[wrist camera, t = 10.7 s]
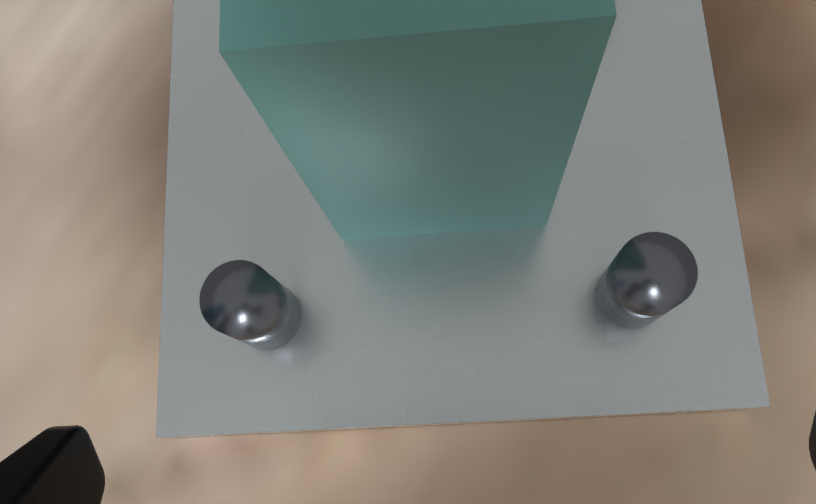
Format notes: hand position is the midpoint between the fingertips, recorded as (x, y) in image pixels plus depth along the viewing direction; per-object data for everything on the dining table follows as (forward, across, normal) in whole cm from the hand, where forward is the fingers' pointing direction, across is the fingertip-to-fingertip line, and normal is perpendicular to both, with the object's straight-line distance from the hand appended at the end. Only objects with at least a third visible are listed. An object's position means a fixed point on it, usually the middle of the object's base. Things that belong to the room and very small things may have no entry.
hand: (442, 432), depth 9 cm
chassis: (+12, 0, +1) cm, 12 cm away
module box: (+11, 0, 0) cm, 11 cm away
